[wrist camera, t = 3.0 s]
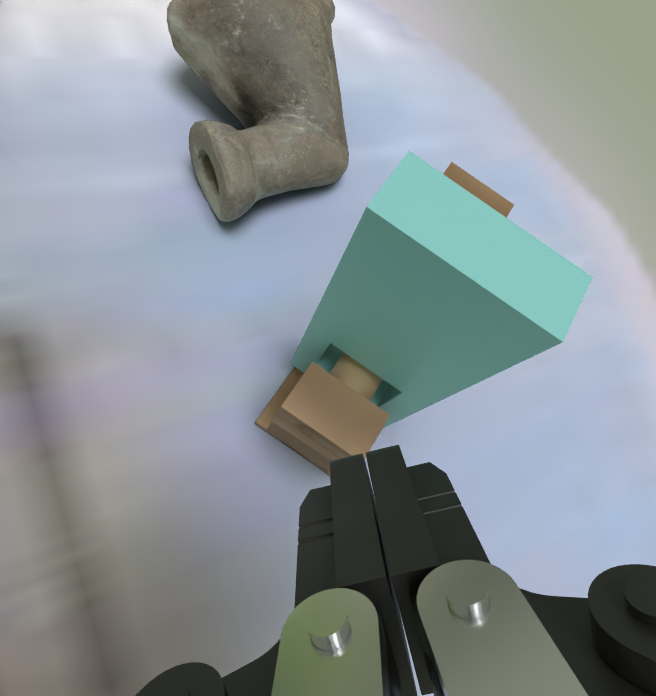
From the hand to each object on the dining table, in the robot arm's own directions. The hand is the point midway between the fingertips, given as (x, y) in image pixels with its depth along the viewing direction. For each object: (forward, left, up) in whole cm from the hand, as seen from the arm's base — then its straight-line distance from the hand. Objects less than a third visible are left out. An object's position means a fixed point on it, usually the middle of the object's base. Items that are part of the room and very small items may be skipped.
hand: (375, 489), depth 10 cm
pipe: (-24, +13, -19) cm, 33 cm away
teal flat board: (-4, +7, -16) cm, 18 cm away
